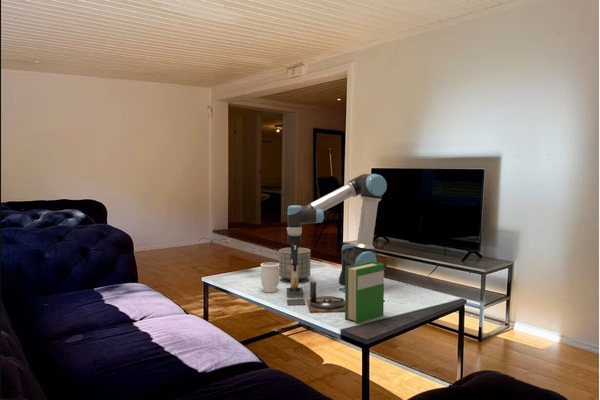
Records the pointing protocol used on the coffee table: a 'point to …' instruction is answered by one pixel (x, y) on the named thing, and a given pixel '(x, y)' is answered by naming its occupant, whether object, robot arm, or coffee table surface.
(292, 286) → the hook peg
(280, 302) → the coffee table surface
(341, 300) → the handwheel
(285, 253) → the planter
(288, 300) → the pad
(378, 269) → the hardback book
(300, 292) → the eye block
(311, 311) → the wheel base
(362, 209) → the robot arm
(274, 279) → the jar
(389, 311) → the coffee table surface
